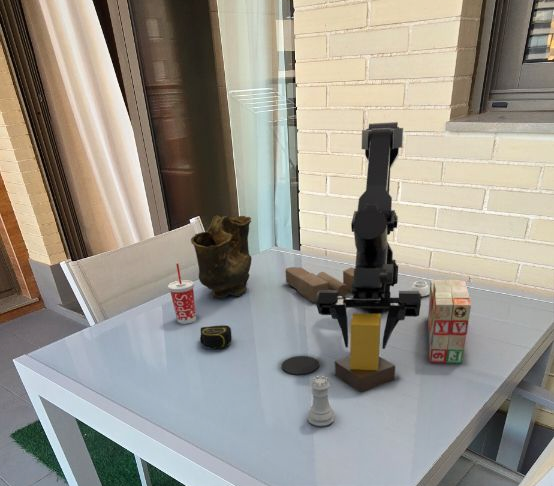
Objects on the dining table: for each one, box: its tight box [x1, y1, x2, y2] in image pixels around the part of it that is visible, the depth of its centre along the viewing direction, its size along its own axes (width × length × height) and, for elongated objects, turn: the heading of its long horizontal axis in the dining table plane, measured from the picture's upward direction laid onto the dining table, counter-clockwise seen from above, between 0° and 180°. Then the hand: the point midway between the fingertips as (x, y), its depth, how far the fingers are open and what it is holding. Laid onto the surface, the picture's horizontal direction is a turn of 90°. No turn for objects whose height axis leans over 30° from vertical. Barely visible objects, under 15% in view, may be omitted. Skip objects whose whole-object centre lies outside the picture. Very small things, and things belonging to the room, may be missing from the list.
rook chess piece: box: [307, 375, 335, 427], centre depth 89 cm, size 4×4×8 cm
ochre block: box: [349, 312, 382, 370], centre depth 99 cm, size 5×5×9 cm
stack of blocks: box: [427, 279, 472, 364], centre depth 110 cm, size 21×6×12 cm, turn 168°
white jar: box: [409, 280, 430, 298], centre depth 135 cm, size 5×3×5 cm
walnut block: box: [334, 356, 396, 393], centre depth 102 cm, size 8×8×3 cm
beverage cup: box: [167, 262, 197, 325], centre depth 128 cm, size 6×6×14 cm
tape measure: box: [199, 324, 233, 349], centre depth 118 cm, size 7×7×4 cm
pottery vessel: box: [190, 215, 252, 299], centre depth 141 cm, size 25×11×20 cm, turn 162°
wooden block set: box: [284, 266, 355, 304], centre depth 143 cm, size 17×6×18 cm
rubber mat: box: [281, 355, 320, 376], centre depth 108 cm, size 8×8×1 cm
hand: (364, 347), depth 98 cm, fingers open, 6 cm apart
